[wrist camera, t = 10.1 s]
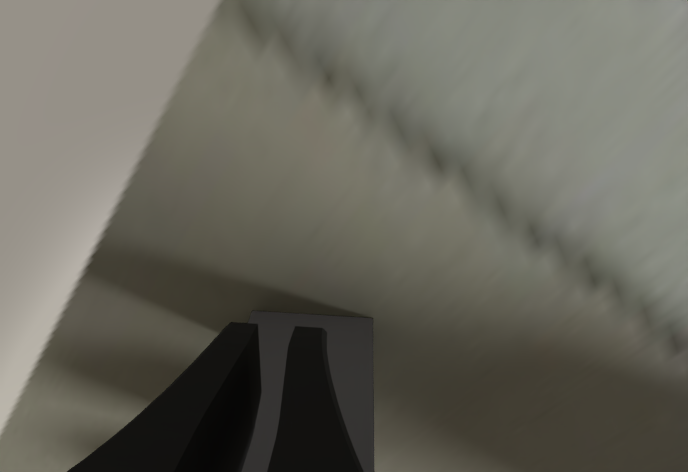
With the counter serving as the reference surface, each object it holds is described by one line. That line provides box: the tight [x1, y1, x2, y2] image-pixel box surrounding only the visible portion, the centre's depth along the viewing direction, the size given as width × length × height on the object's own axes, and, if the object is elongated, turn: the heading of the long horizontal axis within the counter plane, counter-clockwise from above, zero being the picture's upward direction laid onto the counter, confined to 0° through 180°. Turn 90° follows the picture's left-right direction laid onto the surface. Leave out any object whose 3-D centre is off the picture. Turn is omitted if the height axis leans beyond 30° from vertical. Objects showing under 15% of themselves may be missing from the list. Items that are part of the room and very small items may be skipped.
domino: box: [242, 311, 374, 472], centre depth 16 cm, size 2×5×9 cm, turn 87°
